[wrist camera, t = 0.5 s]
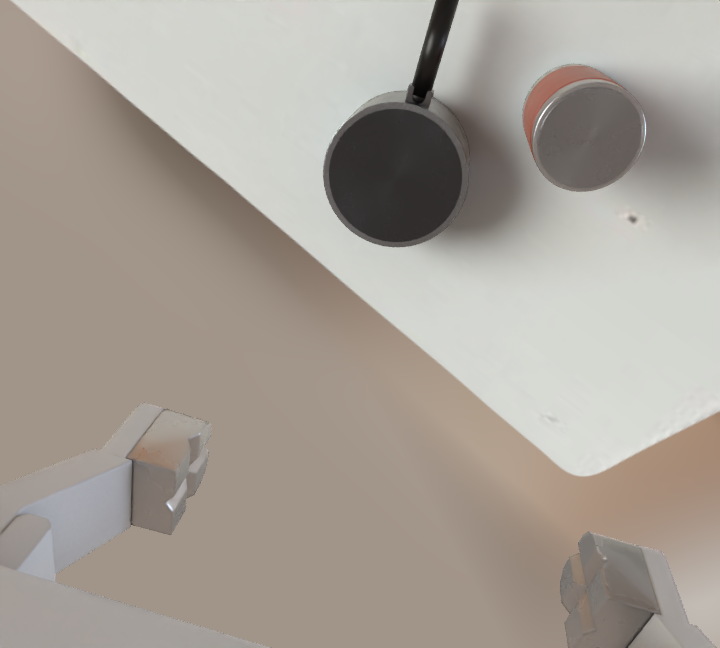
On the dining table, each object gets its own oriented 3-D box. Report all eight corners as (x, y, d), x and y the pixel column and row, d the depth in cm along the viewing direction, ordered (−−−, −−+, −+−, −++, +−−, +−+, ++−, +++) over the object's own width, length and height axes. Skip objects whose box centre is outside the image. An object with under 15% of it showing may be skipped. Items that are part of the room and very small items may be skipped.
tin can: (542, 51, 47) (559, 67, 37) (630, 78, 47) (669, 100, 37) (508, 140, 51) (515, 176, 41) (589, 165, 51) (615, 206, 41)
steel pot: (444, 239, 56) (441, 264, 51) (325, 202, 56) (309, 224, 51) (527, 6, 46) (534, 9, 41) (381, -38, 46) (368, -41, 41)
